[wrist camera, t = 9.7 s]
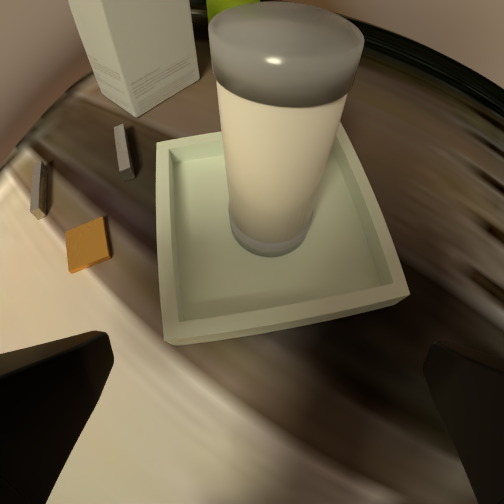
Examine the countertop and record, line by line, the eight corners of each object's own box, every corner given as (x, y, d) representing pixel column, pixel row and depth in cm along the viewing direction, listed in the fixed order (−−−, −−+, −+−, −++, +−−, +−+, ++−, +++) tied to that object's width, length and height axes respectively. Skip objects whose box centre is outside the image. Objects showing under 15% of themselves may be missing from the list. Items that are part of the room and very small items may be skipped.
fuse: (301, 265, 17) (366, 76, 6) (220, 246, 18) (182, 50, 7) (314, 198, 19) (362, 16, 8) (241, 182, 19) (234, -3, 8)
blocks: (150, 243, 18) (144, 234, 17) (40, 286, 17) (31, 280, 16) (127, 134, 22) (123, 123, 21) (40, 172, 21) (33, 164, 20)
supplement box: (202, 80, 25) (188, -44, 14) (135, 121, 23) (93, -12, 11) (159, 59, 27) (139, -43, 16) (100, 94, 25) (62, -11, 14)
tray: (394, 304, 17) (410, 294, 15) (174, 345, 16) (164, 340, 14) (334, 141, 22) (340, 121, 20) (163, 162, 21) (156, 142, 19)
